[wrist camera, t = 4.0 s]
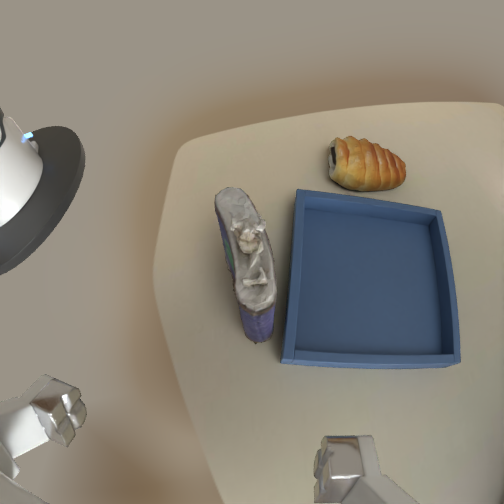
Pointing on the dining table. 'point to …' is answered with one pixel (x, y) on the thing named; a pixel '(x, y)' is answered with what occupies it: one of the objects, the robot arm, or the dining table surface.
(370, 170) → the pastry
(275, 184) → the dining table surface
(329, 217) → the blue tray
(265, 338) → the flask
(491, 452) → the dining table surface
